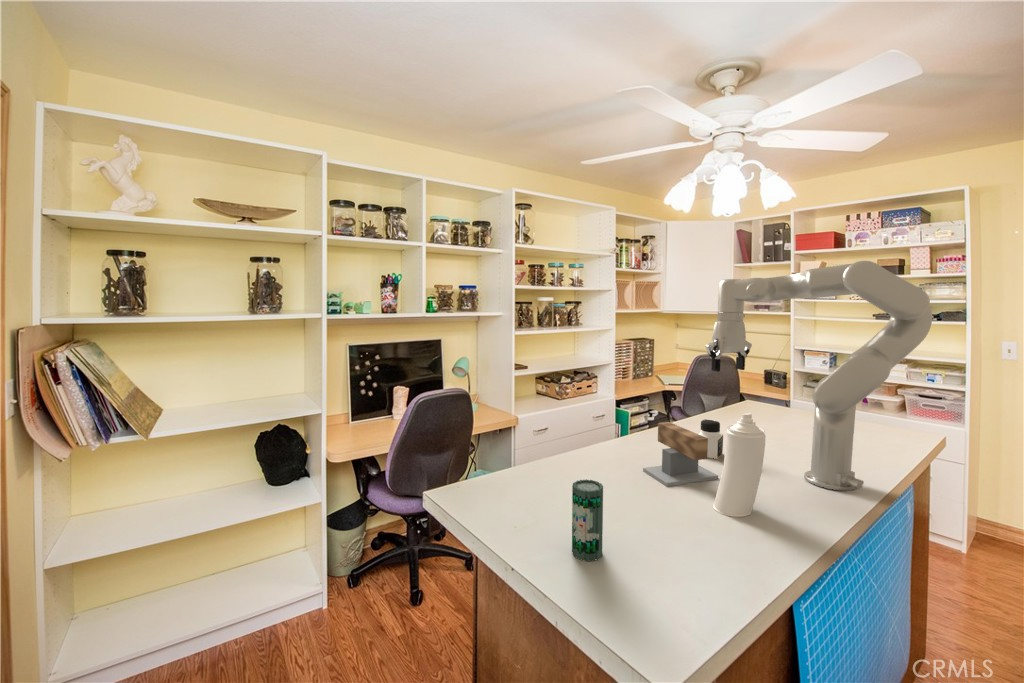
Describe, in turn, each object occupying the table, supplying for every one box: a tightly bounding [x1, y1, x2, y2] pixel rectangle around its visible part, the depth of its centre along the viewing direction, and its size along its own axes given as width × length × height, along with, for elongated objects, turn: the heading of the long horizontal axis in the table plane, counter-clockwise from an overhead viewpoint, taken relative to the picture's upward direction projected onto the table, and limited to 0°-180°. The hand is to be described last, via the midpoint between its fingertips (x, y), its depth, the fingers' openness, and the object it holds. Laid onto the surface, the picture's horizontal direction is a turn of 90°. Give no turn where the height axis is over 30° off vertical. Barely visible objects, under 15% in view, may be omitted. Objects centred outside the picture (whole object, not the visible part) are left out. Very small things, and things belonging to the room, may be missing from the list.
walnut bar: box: [657, 421, 708, 461], centre depth 137 cm, size 18×4×6 cm, turn 17°
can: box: [571, 479, 604, 562], centre depth 96 cm, size 6×6×15 cm
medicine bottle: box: [698, 418, 724, 460], centre depth 155 cm, size 7×7×12 cm
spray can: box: [712, 412, 766, 518], centre depth 115 cm, size 12×11×25 cm
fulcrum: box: [642, 447, 719, 487], centre depth 138 cm, size 12×18×8 cm, turn 107°
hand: (728, 370), depth 148 cm, fingers open, 9 cm apart
